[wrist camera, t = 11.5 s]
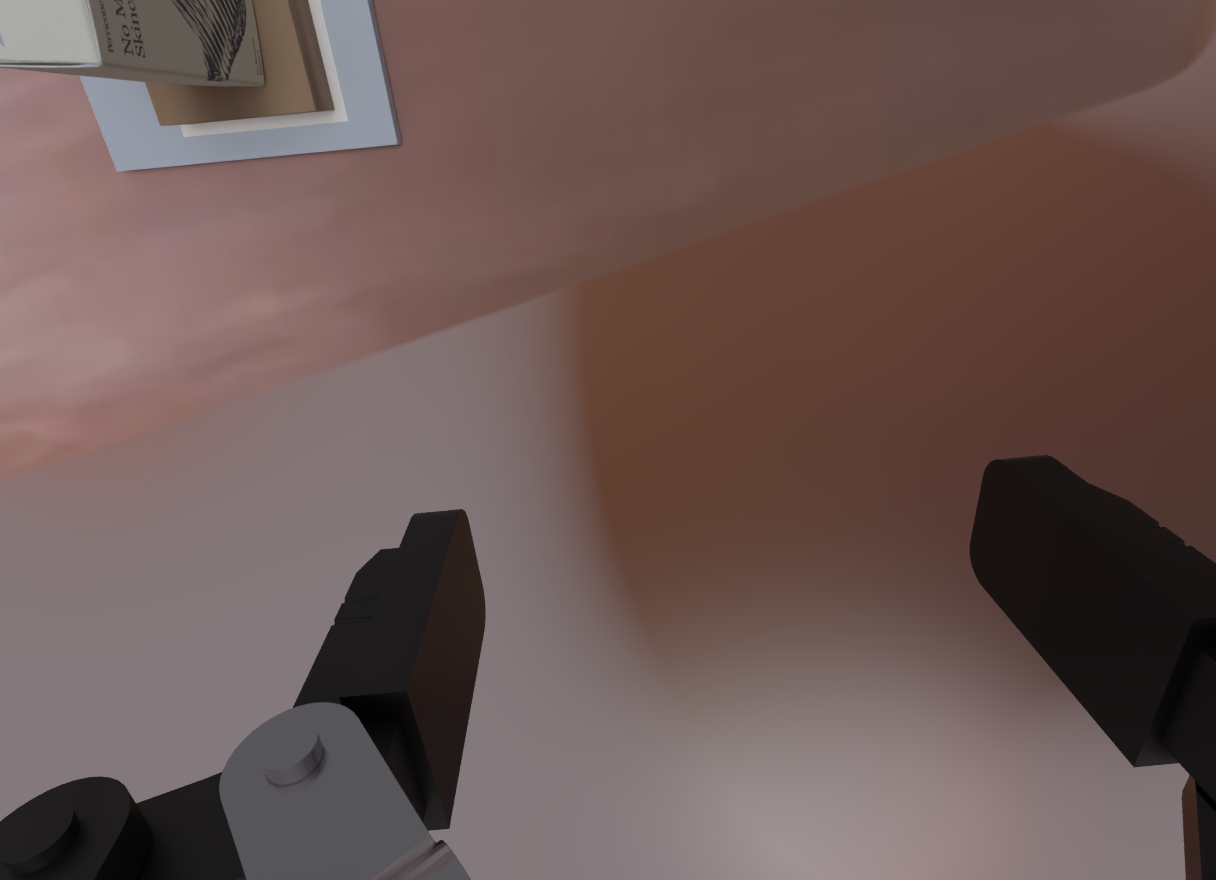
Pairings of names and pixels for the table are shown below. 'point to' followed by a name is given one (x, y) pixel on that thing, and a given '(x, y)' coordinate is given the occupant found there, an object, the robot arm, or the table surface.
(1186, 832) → the robot arm
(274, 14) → the base block
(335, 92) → the board
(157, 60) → the box
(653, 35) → the table surface
